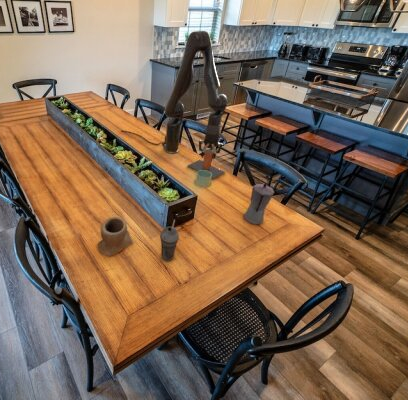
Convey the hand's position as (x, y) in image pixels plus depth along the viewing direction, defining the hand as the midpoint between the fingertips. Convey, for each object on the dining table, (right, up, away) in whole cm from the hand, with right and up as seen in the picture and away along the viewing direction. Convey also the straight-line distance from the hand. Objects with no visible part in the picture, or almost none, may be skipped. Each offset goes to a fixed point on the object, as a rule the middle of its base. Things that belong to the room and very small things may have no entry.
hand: (208, 157), depth 162 cm
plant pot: (0, -5, +4) cm, 7 cm away
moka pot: (+17, -35, -31) cm, 50 cm away
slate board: (0, -7, +5) cm, 9 cm away
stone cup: (-47, -45, -50) cm, 82 cm away
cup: (-4, -16, -7) cm, 18 cm away
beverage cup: (-26, -49, -53) cm, 77 cm away
